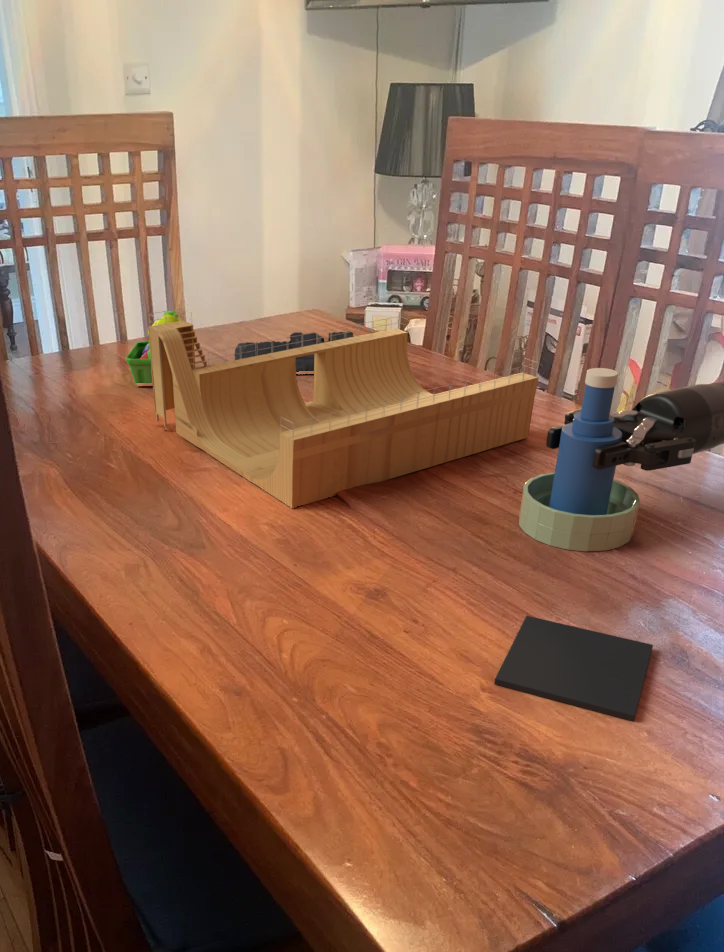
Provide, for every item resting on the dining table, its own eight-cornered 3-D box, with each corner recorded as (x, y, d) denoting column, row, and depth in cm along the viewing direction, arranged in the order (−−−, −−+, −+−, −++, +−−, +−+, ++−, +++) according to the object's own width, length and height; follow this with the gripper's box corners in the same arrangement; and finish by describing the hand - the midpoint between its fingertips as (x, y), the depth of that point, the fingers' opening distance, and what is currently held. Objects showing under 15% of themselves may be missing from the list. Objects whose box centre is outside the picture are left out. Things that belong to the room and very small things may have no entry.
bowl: (581, 500, 102) (587, 465, 100) (655, 542, 93) (664, 504, 91) (496, 518, 99) (501, 482, 96) (565, 564, 89) (572, 525, 87)
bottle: (578, 510, 99) (605, 360, 90) (615, 532, 94) (647, 376, 85) (535, 520, 97) (559, 368, 88) (570, 542, 92) (599, 384, 83)
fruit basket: (139, 370, 152) (133, 304, 146) (189, 370, 152) (185, 303, 146) (127, 390, 142) (120, 319, 136) (181, 389, 142) (176, 319, 136)
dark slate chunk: (233, 353, 160) (232, 327, 158) (351, 350, 161) (352, 324, 159) (235, 377, 147) (234, 349, 145) (363, 373, 148) (364, 345, 146)
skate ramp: (291, 516, 102) (293, 383, 93) (155, 425, 127) (146, 313, 118) (527, 444, 121) (546, 328, 112) (368, 377, 146) (374, 277, 137)
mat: (525, 620, 80) (526, 615, 80) (651, 650, 75) (653, 644, 75) (493, 684, 72) (494, 678, 71) (633, 721, 67) (635, 715, 67)
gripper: (732, 474, 93) (617, 507, 86) (628, 434, 104) (519, 460, 97) (750, 406, 89) (632, 435, 82) (640, 372, 100) (528, 395, 93)
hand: (572, 448), depth 90 cm, fingers closed on bottle, 6 cm apart
